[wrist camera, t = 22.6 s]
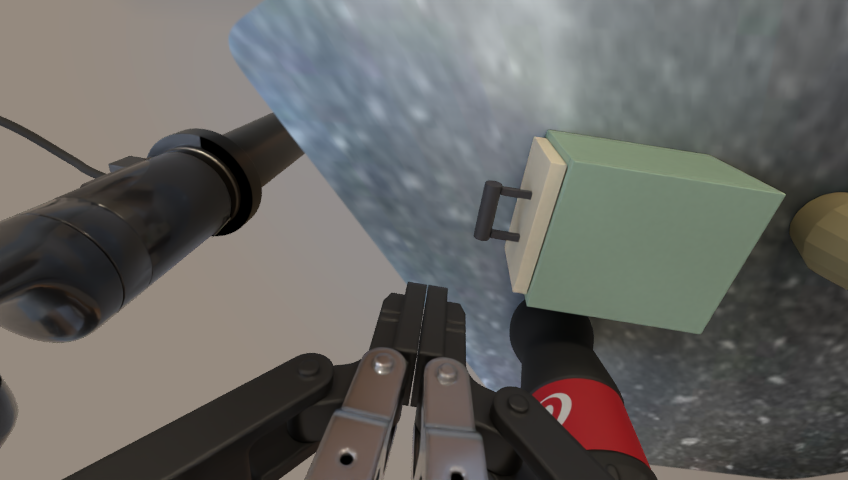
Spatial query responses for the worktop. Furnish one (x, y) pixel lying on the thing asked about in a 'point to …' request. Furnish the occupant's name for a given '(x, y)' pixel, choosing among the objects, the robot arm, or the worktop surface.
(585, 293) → the cabinet
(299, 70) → the worktop surface
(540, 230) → the drawer
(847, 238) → the squeeze bottle
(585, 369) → the cola bottle
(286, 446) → the robot arm
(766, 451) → the worktop surface
